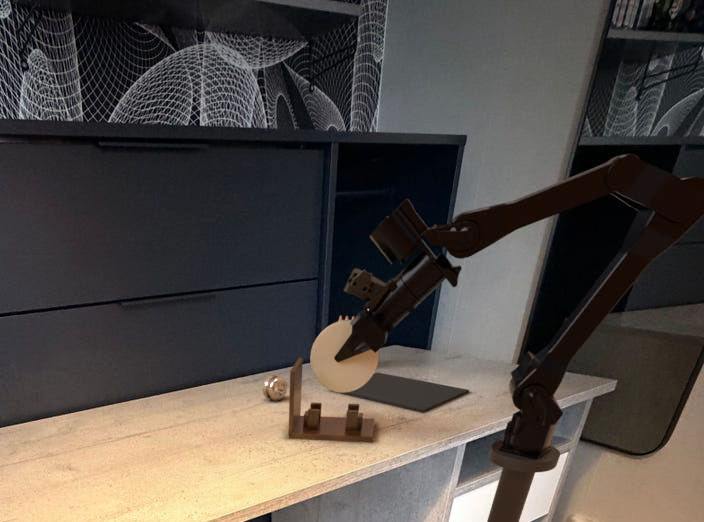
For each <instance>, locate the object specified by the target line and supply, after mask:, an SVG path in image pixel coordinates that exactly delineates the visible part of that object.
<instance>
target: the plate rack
mask: <svg viewBox="0 0 704 522" xmlns="http://www.w3.org/2000/svg"><path fill="white" fill-rule="evenodd" d="M303 362H304V361H303V357H298V358H297V360H296V361H295V363H294V364H293V365H292V368H291V369H290V371H289V396H288V397H289V400H288V401H289V402H288V405H289V406H288V436H287V437H288V439H294V440H296V439H297V440H298V439H299V440H315V441H317V440H318V441H319V440H320V441H337V442H338V441H339V442H357V443H359V442H360V443H373V440H374V431H375V419H376V418H371V417H370V418H369V417H364V412H360V403H348V404H347V410H346V416H345V417H344V416H343V417H341V416H322V406H323V405H322V404H323V403H322V402H310V406H309V408H308V409H307V410H305V412H304V414H303V415H301V413H302V411H301V410H302V389H303V387H302V386H303V384H302V383H303Z"/></svg>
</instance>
